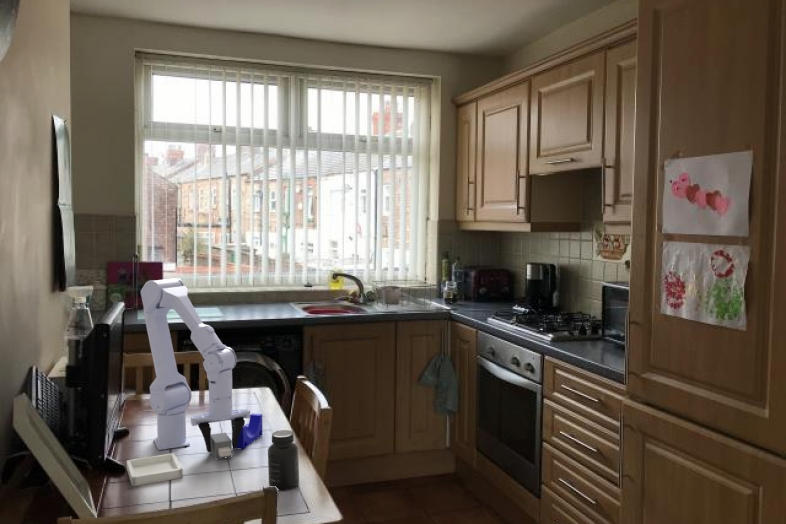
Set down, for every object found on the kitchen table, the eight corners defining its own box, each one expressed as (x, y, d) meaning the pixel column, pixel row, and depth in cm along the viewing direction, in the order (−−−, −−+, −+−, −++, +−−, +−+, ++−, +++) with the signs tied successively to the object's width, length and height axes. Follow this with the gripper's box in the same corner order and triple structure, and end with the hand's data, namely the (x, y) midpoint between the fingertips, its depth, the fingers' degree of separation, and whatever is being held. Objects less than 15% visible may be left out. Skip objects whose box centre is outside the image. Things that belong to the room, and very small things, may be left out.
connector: (210, 451, 171) (209, 434, 171) (225, 449, 173) (225, 432, 173) (217, 463, 163) (217, 445, 163) (234, 460, 165) (233, 443, 164)
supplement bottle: (285, 476, 154) (284, 426, 153) (305, 484, 150) (304, 432, 149) (262, 486, 149) (261, 433, 148) (282, 494, 144) (281, 440, 144)
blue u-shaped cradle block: (247, 434, 185) (247, 412, 185) (262, 435, 184) (262, 414, 184) (227, 448, 174) (227, 426, 173) (243, 449, 173) (243, 427, 172)
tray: (126, 468, 159) (126, 460, 159) (174, 460, 164) (174, 452, 164) (132, 486, 149) (131, 477, 149) (182, 477, 154) (182, 469, 154)
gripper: (194, 404, 161) (195, 458, 162) (253, 396, 167) (253, 449, 168) (189, 397, 167) (190, 449, 168) (245, 390, 174) (246, 440, 175)
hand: (221, 449), depth 169 cm, fingers open, 6 cm apart
